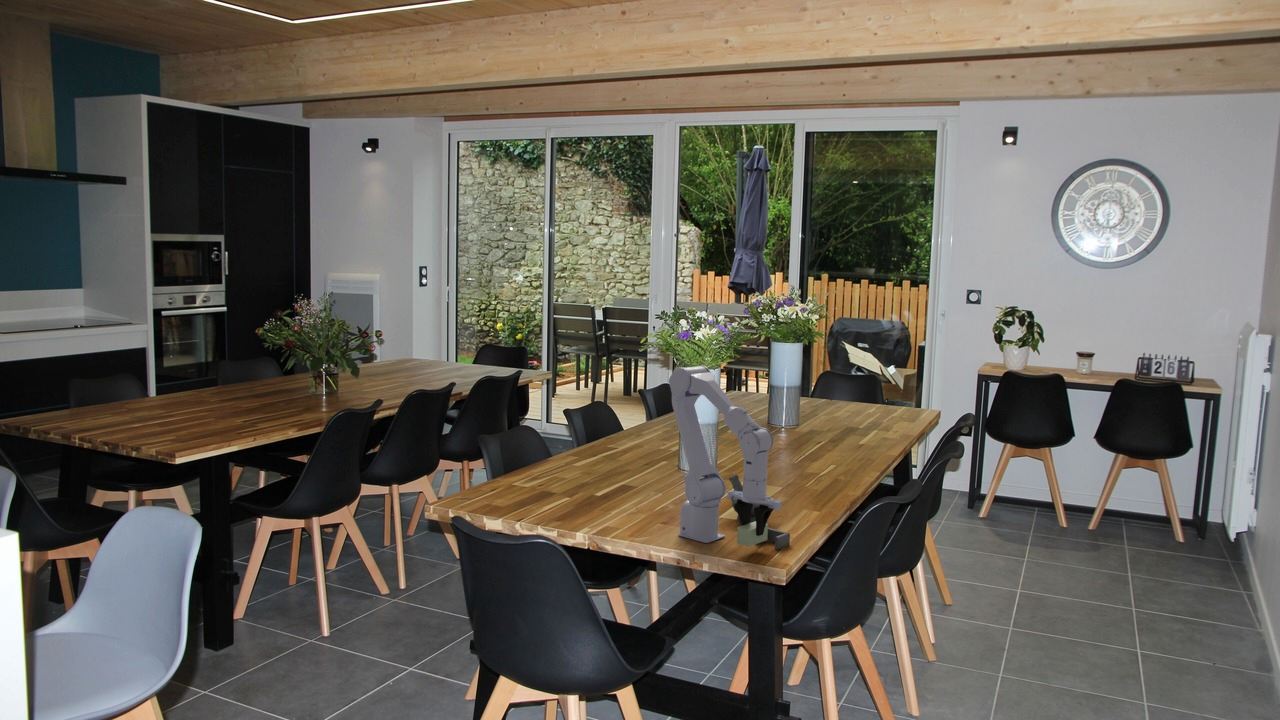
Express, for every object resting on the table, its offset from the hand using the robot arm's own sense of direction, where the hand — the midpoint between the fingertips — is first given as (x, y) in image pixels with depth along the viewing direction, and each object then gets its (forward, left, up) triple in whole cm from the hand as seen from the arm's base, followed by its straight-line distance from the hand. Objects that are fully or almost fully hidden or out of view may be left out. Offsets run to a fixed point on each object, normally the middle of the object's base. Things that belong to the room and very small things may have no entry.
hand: (752, 533), depth 230 cm
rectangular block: (0, 0, -2) cm, 2 cm away
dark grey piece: (0, +9, -5) cm, 10 cm away
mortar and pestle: (-18, +23, -5) cm, 29 cm away
